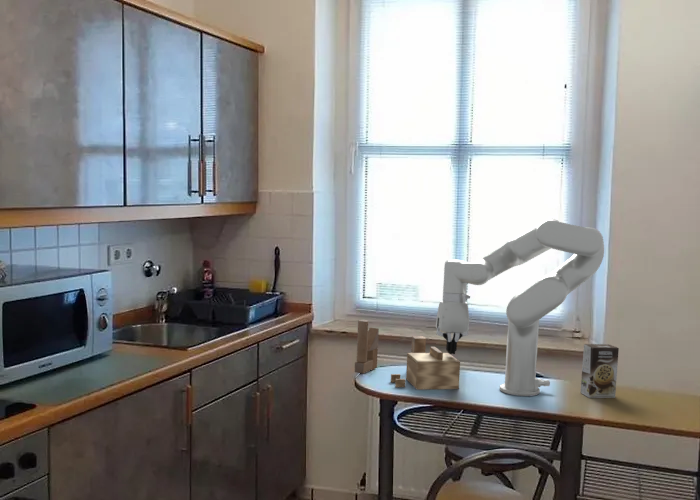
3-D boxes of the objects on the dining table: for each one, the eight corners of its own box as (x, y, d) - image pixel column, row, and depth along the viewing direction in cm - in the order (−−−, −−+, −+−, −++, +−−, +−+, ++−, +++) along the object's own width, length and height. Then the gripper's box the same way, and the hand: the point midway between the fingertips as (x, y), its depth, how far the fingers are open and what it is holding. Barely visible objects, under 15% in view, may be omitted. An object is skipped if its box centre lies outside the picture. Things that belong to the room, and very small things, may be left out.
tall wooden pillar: (421, 369, 269) (422, 336, 268) (424, 372, 265) (426, 338, 264) (410, 369, 268) (411, 336, 268) (413, 372, 265) (414, 338, 264)
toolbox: (446, 378, 257) (447, 352, 257) (458, 388, 245) (460, 361, 244) (388, 379, 254) (389, 353, 253) (398, 389, 241) (399, 361, 240)
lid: (447, 355, 256) (448, 346, 256) (458, 363, 245) (459, 353, 245) (408, 355, 253) (408, 346, 253) (417, 363, 242) (417, 353, 242)
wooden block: (377, 368, 269) (379, 317, 268) (363, 374, 260) (365, 321, 258) (368, 366, 271) (370, 316, 270) (353, 372, 262) (355, 320, 260)
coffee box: (589, 398, 239) (592, 347, 238) (579, 392, 245) (582, 343, 244) (616, 398, 241) (619, 347, 239) (606, 392, 247) (609, 343, 246)
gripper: (472, 296, 254) (468, 350, 255) (428, 295, 251) (425, 350, 252) (480, 300, 246) (476, 355, 248) (435, 299, 244) (432, 355, 245)
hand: (451, 353), depth 250 cm, fingers closed
